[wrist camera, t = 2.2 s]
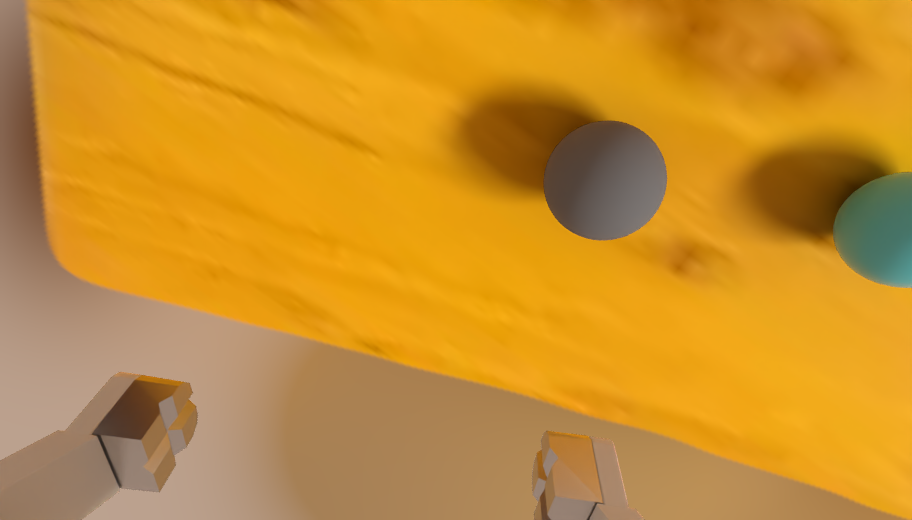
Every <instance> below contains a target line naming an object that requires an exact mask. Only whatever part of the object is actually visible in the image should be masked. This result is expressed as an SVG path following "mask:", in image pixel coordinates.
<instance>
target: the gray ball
mask: <svg viewBox="0 0 912 520" xmlns="http://www.w3.org/2000/svg"><path fill="white" fill-rule="evenodd" d="M666 184H667V172H666V166H665V162H664V158H663V156H662V154H661V152H660V150H659V148H658V147H657V145H656V144H655V142H654V141H653V140H652V139H651V138H650V137H649V136H648V135H647V134H645V133H644V132H643V131H641V130H640V129H638V128H636V127H634V126H632V125H629V124H627V123H623V122H619V121H598V122H593V123H589V124H586V125H584V126H581V127H579V128H577V129H575V130H574V131H572V132H571V133H569V134H568V135H567V136H566V137H565V138H563V139H562V140H561V141H560V143H559V144H558V145H557V146H556V147H555V149H554V150H553V152H552V154H551V156H550V158H549V160H548V162H547V165H546V169H545V174H544V193H545V197H546V201H547V203H548V206H549V208H550V210H551V212H552V213H553V215H554V216H555V218H556V219H557V220H558V221H559V222H560V223H561V224H562V225H563V226H564V227H565V228H567V229H568V230H569V231H571V232H573V233H575V234H577V235H579V236H582V237H585V238H588V239H593V240H612V239H617V238H621V237H624V236H627V235H629V234H631V233H633V232H635V231H636V230H638V229H640V228H641V227H642V226H644V225H645V224H646V223H647V222H648V221H649V220H650V219H651V218H652V217H653V216H654V214H655V213H656V211H657V210H658V208H659V206H660V204H661V202H662V200H663V197H664V194H665V190H666Z"/></svg>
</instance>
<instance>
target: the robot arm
mask: <svg viewBox="0 0 912 520" xmlns="http://www.w3.org/2000/svg"><path fill="white" fill-rule="evenodd" d="M192 393H193V392H192V389H191V385H190V383H187V382H181V381H174V380H169V379H163V378H157V377H151V376H145V375H138V374H131V373H124V372H119V373H117V374H116V375H114V376H112V377H111V378H110V379H109V381H108V382H107V383H106V384H105V385H104V386H103V387H102V389H101V390H100V391H99V392H98V393H97V394H96V396H95V397H94V398H93V399H92V400H91V401H90V402H89V404H88V405H87V406H86V407H85V408H84V409H83V411H82V412H81V413H80V414H79V415H78V416H77V418H76V419H75V420H74V421H73V422H72V423H71V425H70V426H69V427H68V428H67V429H66V430H65V431H59V430H58V431H56V432H54V433H52V434H50V435H48V436H46V437H45V438H43V439H41V440H38V441H37V442H35V443H33V444H31V445H29V446H27V447H25V448H23V449H21V450H19V451H17V452H16V453H14V454H12V455H10V456H8V457H6V458H4V459H2V460H0V520H82V519H83V518H85V517H86V516H87V515H89V514H90V513H91V512H93V511H94V510H95V509H97V508H98V507H99V506H101V505H102V504H103V503H104V502H106V501H107V500H108V499H110V498H111V497H112V496H114V495H115V494H116V493H117V492H119V491H120V488H124V489H132V490H142V491H152V492H160V491H161V489H162V488H163V486H164V484H165V483H166V481H167V479H168V477H169V476H170V474H171V473H172V471H173V469H174V468H175V466H176V462H175V456H174V455H175V454H177V453H179V452H180V451H182V450H183V449H185V448H186V447H187V446H188V444H189V442H190V441H191V439H192V437H193V435H194V431H195V428H196V425H197V418H198V413H197V409H196V406H195V405H194V404H193V403H192V402H191V401H190V400H189V398H190V397H191V395H192ZM541 448H542V450H541V451H539V452H537V454H536V457H535V460H534V465H533V472H532V491H533V496H534V497H535V498H536V500H537V501H538V504H537V506H536V509H535V512H534V520H644V518H643V517H642V516H641V515H640V513H639V512H638V511H637V510H636V509H633V508H629V506H628V502H627V497H626V493H625V489H624V485H623V481H622V476H621V472H620V468H619V463H618V459H617V455H616V450H615V446H614V443H613V442H612V440H610V439H603V438H596V437H588V436H585V435H577V434H568V433H560V432H551V431H545V432H544V434H543V436H542V439H541Z"/></svg>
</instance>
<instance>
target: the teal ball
mask: <svg viewBox="0 0 912 520" xmlns="http://www.w3.org/2000/svg"><path fill="white" fill-rule="evenodd" d="M833 237H834V242H835V246H836V249H837V251H838V253H839V255H840V256H841V258H842V259H843V260H844V262H845V263H846V264H847V265H848V266H849V267H850V268H851V269H853V270H854V271H855V272H856V273H858V274H859V275H861V276H863V277H865V278H866V279H868V280H871V281H874V282H876V283H879V284H883V285H887V286H892V287H903V288H912V172H902V173H895V174H891V175H886V176H883V177H880V178H877V179H875V180H872V181H870V182H868V183H867V184H865V185H863V186H862V187H860V188H858V189H857V190H856V191H855V192H853V193H852V194H851V195H850V196H849V197H848V198H847V199H846V200H845V202H844V203H843V204H842V206H841V207H840V209H839V211H838V213H837V215H836V218H835V222H834V226H833Z"/></svg>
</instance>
